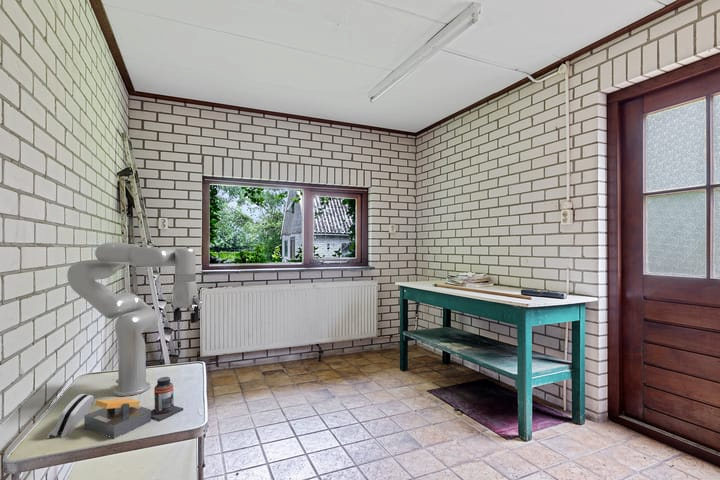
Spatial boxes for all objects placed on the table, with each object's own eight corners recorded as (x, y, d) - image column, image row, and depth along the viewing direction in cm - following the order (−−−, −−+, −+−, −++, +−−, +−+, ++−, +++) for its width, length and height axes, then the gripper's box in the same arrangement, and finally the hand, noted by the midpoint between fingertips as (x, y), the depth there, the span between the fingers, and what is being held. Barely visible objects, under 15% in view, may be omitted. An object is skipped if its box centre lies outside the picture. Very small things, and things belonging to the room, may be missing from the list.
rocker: (94, 405, 120) (96, 400, 120) (127, 402, 129) (128, 398, 130) (106, 408, 117) (107, 403, 117) (138, 406, 126) (140, 401, 127)
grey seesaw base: (84, 427, 121) (84, 405, 121) (121, 412, 132) (121, 391, 132) (114, 438, 114) (113, 415, 114) (151, 421, 125) (150, 399, 125)
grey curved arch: (72, 414, 130) (82, 387, 131) (86, 417, 132) (97, 390, 133) (45, 439, 114) (58, 407, 115) (62, 442, 116) (75, 410, 116)
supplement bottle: (154, 409, 133) (153, 377, 133) (173, 405, 136) (172, 374, 136) (154, 415, 128) (154, 382, 128) (174, 411, 131) (173, 379, 131)
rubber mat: (143, 415, 129) (142, 413, 129) (166, 405, 137) (166, 403, 137) (160, 420, 125) (160, 419, 125) (183, 409, 133) (183, 408, 133)
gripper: (162, 278, 150) (163, 321, 150) (192, 280, 142) (193, 325, 142) (179, 277, 156) (179, 317, 156) (208, 278, 149) (209, 321, 149)
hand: (185, 321), depth 149 cm, fingers open, 9 cm apart
